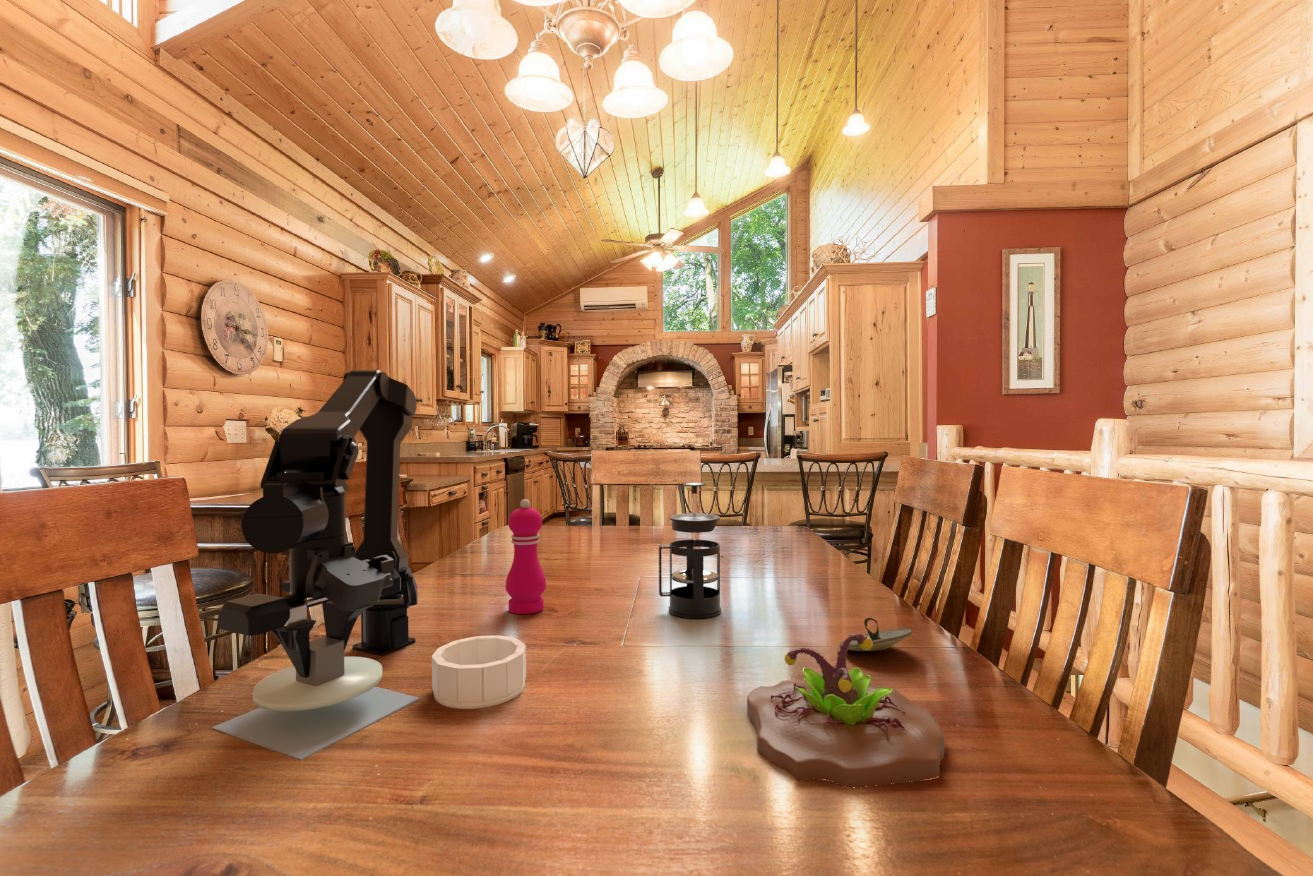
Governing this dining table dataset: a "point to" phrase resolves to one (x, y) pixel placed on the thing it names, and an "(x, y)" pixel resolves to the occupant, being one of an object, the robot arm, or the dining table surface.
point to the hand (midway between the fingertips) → (320, 670)
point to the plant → (844, 726)
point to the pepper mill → (525, 562)
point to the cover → (318, 680)
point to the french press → (693, 566)
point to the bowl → (478, 671)
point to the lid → (881, 638)
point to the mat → (314, 723)
